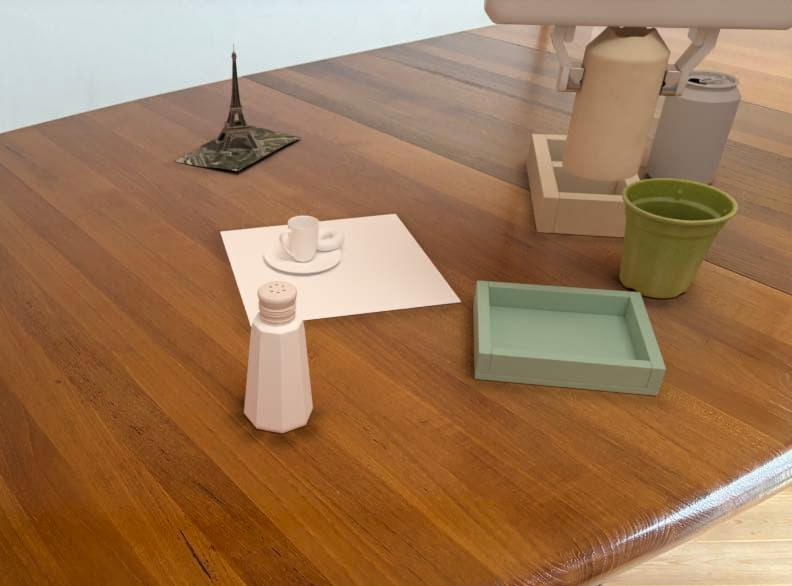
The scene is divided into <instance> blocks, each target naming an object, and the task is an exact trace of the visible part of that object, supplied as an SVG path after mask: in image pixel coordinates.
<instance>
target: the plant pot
mask: <svg viewBox="0 0 792 586" xmlns="http://www.w3.org/2000/svg"><path fill="white" fill-rule="evenodd" d="M622 198H623V201H624V203H625V215H626V224H625V234H624V237H623V245H622V253H621V261H620V270H619V281H620V283H621V284H622V285H623V286H624V287H625V288H627V289H632V290H634V291H635V292H640V293H641V296H644V297H647V298H653V299H673V298H677V297H678V296H679V295H681V294H683V293H687V291H688V290H689V289H690V287H691V284H692V283H693V281H694V278H695V277H696V275H697V274H698V271H699V269H700V268H701V264H702V263H703V261H704V260H705V257H706V256H707V254H708V252H709V250H710V248H711V246H712V244H713V243H714V240H716V237H717V235H718V233H719V232H720V231H721V230H722V229H723V228H725V225H726V224H727V222H728V221H729V220H731V219H732V218H734V217H735V215H737V212H738V210H739V206H738V205H739V204H738V202H737V201H736V199H735V198H734V197H733V196H732V195H730V194H729V193H727V191H723V190H722V189H720V188H718V187H715V186H713V185H710V184H707V185H706V184H703V183H699V182H694V181H689V180H683V179H674V178H653V179H651V178H646V179H640V181H636V182H634V183H631V184H629V185H628V186H627V187H626V188H625V189H624V190H623V193H622Z"/></svg>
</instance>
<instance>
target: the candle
mask: <svg viewBox="0 0 792 586" xmlns="http://www.w3.org/2000/svg"><path fill="white" fill-rule="evenodd" d="M670 56H671V50H670V49H669V47H668V45H667V44H666V42H665V40H664V39H663V38H662V36H661V34H660V32H659V31H658V28H656V27H609V26H606V27H605V29H604V30H603V31H601V32H600V33H599V34H598V35H597V36H596V37H594V38H593V39H592V40H591V41H590V42H589V43H588V44H586V45H585V49H584V53H583V57H582V58H583V59H582V66H583V67H584V73H583V78H582V79H581V80H580V83H581V87H580V91H579V92H575V97H574V101H573V106H572V110H571V115H570V120H569V124H568V130H567V134H566V135H567V138H566V143H565V148H564V153H563V158H562V166H563V168H564V169H565V170H566V171H568V172H569V173H571V174H574V175H576V176H579V177H582V178H586V179H591V180H599V181H619V180H625V179H629V178H631V177H633V176H635V175H636V173H637V174H638V171H639V170H640V167H641V162H642V159H643V157H644V152H645V148H646V144H647V141H648V137H649V133H650V130H651V126H652V122H653V119H654V115H655V112H656V109H657V108H656V107H657V104H658V100H659V98H660V96H659V93H660V90H661V86H662V82H663V79H664V75H665V71H666V68H667V64H669V60H670Z"/></svg>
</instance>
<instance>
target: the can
mask: <svg viewBox="0 0 792 586" xmlns="http://www.w3.org/2000/svg"><path fill="white" fill-rule="evenodd" d="M739 84H740V79H739V78H738V77H736V76H734V75H732V74H730V73H726V72H722V71H716V70H707V69H706V70H704V69H702V70H701V69H693V70H692V71H690V72H689V75H688V79H687V82H686V86H685V89H684V92H683V95H682V96H664V101H663V104H662V108H661V112H660V115H659V119H658V122H657V127H656V130H655V133H654V137H653V141H652V145H651V148H650V150H649V155H648V159H647V162H646V166H645V173H646V174H647V175H648V176H649V178H650V179H653V178H674V179H683V180H689V181H694V182H699V183H703V184H706V185H710V184H711V183H712V182H713V181H714V180H715V178H716V175H717V172H718V169H719V165H720V162H721V159H722V156H723V154H724V150H725V148H726V145H727V141H728V139H729V136H730V133H731V130H732V126H733V123H734V120H735V118H736V115H737V111H738V108H739V105H740V102H741V99H742V94H741V91H740V90H739V88H738V87H737V86H738V85H739Z"/></svg>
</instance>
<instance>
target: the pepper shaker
mask: <svg viewBox="0 0 792 586" xmlns="http://www.w3.org/2000/svg"><path fill="white" fill-rule="evenodd" d="M257 295H258V298H259V310H260V312H258V313H257V315H256V317H255V318H254V320H253V322H252V326H250V327H251V328H250V335H249V336H250V337H249V347H248V349H249V351H248V359H247V372H246V383H245V395H244V405H243V414H244V415H245V417H246V418H247V419H248V420H249V421H250V423H251V424H252V425H253V426H254V428H255V429H256V430H261V431H267V432H271V433H272V432H273V433H276V434H284V433H287V432H291V431H294V430H296V429H299V428H302V427H304V426H306V425H307V423H308V421H309V419H310V416H311V414H312V412H313V410H314V405H313V397H312V396H313V395H312V388H311V376H310V366H309V357H308V348H307V339H306V330H305V329H306V328H305V323H304V320H303V319H302V318H301V317H300V316H299V315H298V314H297V313H296V311H295V310H296V297H297V289H296V288H295V287H294V286H293V285H292V284H290V283H287V282H283V281H273V282H268V283H265V284H263V285H262V286H261V287H260V288H259V289H258V292H257Z"/></svg>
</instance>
